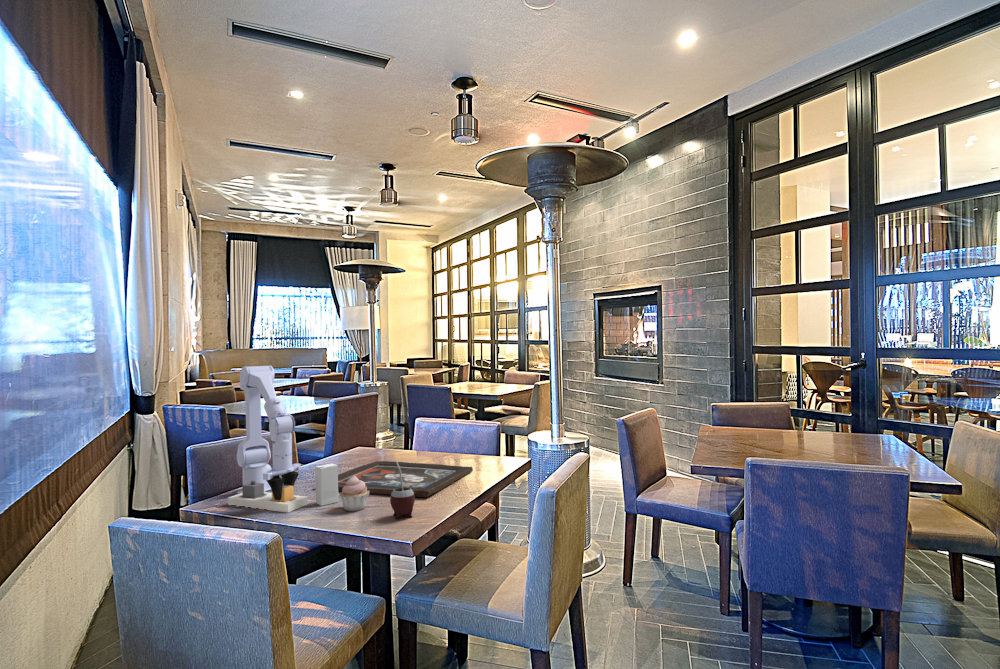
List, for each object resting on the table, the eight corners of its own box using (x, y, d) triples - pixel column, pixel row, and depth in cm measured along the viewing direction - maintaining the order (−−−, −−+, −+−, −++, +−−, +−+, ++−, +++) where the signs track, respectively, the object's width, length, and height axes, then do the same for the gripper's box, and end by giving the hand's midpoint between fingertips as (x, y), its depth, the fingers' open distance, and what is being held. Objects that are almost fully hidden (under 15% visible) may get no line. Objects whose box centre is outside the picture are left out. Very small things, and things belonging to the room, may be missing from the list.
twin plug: (252, 500, 187) (251, 479, 187) (264, 501, 185) (263, 480, 185) (242, 503, 183) (242, 482, 183) (254, 505, 181) (254, 483, 181)
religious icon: (431, 500, 185) (431, 490, 185) (314, 491, 199) (314, 482, 199) (476, 472, 223) (476, 465, 223) (375, 467, 237) (375, 459, 237)
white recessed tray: (249, 497, 190) (249, 489, 190) (308, 504, 182) (307, 496, 182) (228, 505, 182) (227, 497, 182) (288, 512, 173) (287, 503, 173)
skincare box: (332, 499, 186) (332, 462, 186) (339, 502, 183) (338, 464, 183) (314, 503, 182) (314, 465, 182) (321, 506, 179) (320, 467, 179)
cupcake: (373, 503, 181) (372, 472, 181) (366, 512, 172) (365, 479, 172) (343, 504, 181) (343, 472, 181) (335, 513, 172) (334, 480, 172)
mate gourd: (406, 521, 163) (405, 469, 163) (383, 518, 166) (382, 467, 166) (420, 513, 170) (419, 463, 170) (397, 511, 173) (396, 461, 173)
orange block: (281, 503, 182) (280, 483, 182) (293, 504, 181) (293, 484, 181) (272, 507, 179) (271, 486, 179) (284, 508, 177) (284, 488, 177)
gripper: (275, 460, 171) (276, 505, 171) (308, 450, 185) (308, 492, 185) (257, 458, 174) (257, 503, 174) (290, 449, 188) (291, 490, 187)
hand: (282, 497), depth 180 cm, fingers closed on orange block, 4 cm apart
